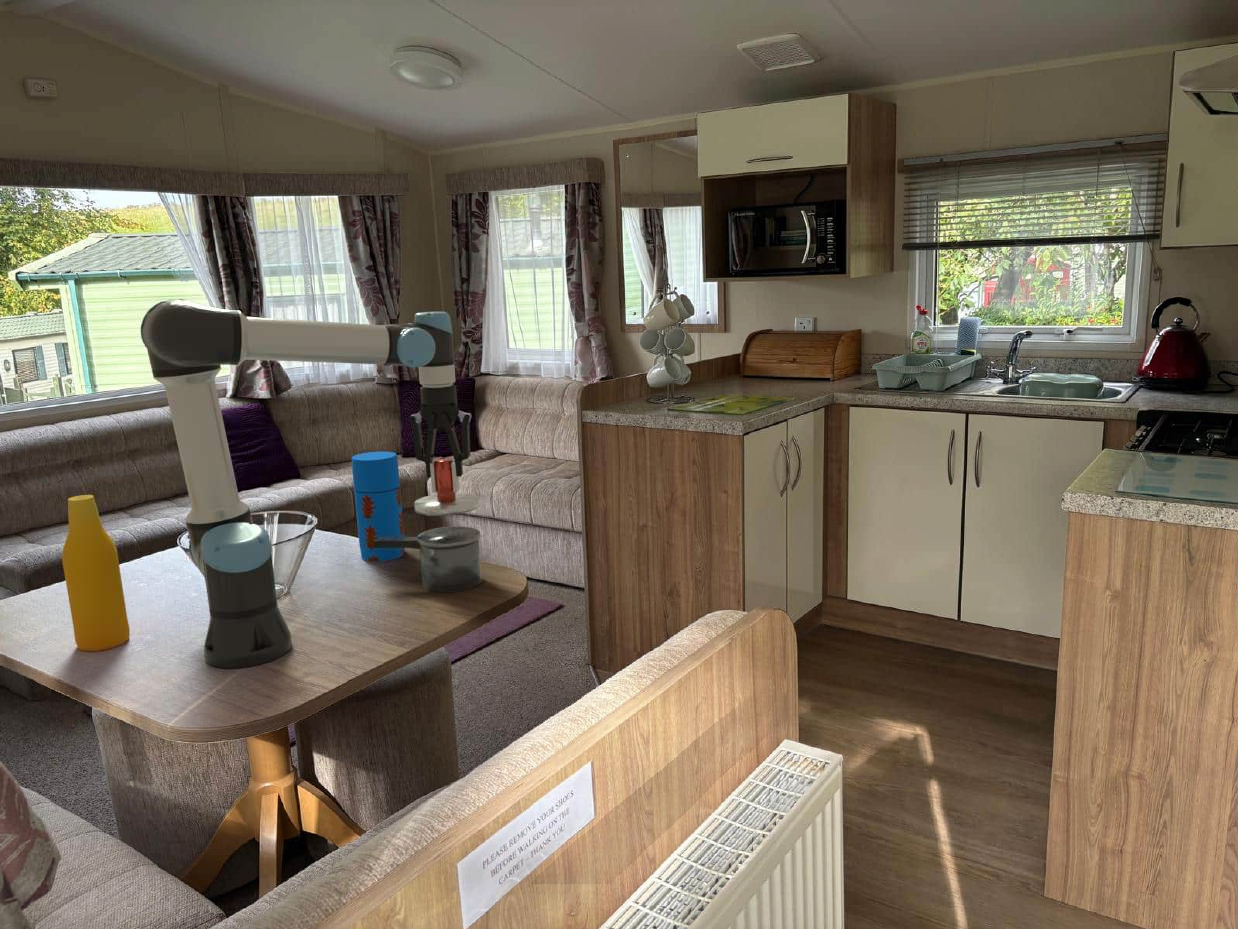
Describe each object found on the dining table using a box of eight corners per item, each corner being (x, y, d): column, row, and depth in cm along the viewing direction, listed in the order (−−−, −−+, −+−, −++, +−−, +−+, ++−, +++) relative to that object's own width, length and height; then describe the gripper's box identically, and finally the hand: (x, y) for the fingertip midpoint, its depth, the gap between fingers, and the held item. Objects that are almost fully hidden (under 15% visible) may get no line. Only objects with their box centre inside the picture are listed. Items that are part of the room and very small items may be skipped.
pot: (476, 592, 200) (473, 543, 198) (370, 594, 201) (365, 545, 199) (488, 571, 213) (485, 525, 211) (388, 573, 215) (384, 527, 212)
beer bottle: (65, 648, 177) (40, 501, 170) (109, 630, 185) (86, 490, 179) (98, 655, 173) (74, 505, 167) (141, 637, 181) (119, 493, 175)
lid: (472, 515, 196) (469, 466, 194) (407, 516, 197) (403, 468, 195) (484, 498, 210) (481, 453, 208) (423, 499, 211) (420, 454, 208)
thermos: (352, 561, 224) (343, 460, 219) (371, 547, 235) (363, 451, 229) (394, 562, 223) (386, 460, 217) (412, 548, 233) (404, 451, 227)
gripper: (480, 381, 201) (487, 486, 206) (403, 383, 202) (412, 487, 207) (473, 386, 193) (481, 494, 198) (393, 388, 194) (403, 496, 199)
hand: (446, 490), depth 203 cm, fingers closed on lid, 4 cm apart
